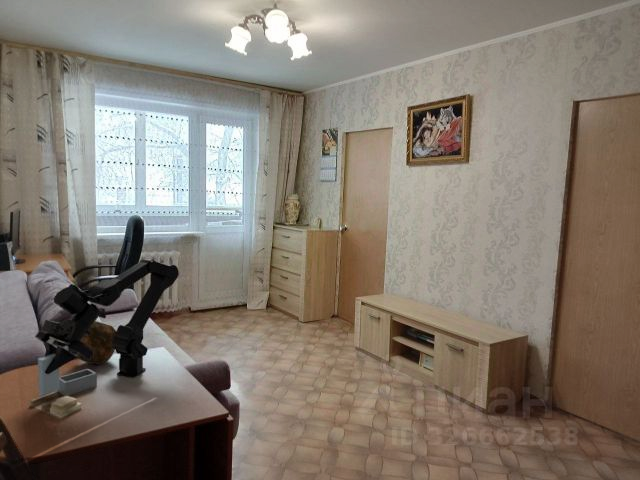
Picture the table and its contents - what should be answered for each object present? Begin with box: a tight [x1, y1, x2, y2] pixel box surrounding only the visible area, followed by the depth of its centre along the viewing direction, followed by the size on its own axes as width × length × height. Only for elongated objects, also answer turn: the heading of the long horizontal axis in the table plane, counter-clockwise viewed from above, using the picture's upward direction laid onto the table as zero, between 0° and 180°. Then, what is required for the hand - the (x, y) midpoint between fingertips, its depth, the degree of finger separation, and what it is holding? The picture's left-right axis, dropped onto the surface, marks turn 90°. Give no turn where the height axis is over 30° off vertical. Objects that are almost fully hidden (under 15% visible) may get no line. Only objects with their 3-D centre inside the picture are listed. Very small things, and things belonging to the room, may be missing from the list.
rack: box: [28, 391, 85, 420], centre depth 126 cm, size 7×14×3 cm, turn 62°
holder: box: [57, 368, 98, 397], centre depth 137 cm, size 9×5×5 cm, turn 144°
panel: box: [37, 354, 60, 396], centre depth 126 cm, size 4×2×10 cm, turn 152°
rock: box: [76, 320, 117, 365], centre depth 156 cm, size 13×13×15 cm
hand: (43, 372), depth 125 cm, fingers closed on panel, 2 cm apart
